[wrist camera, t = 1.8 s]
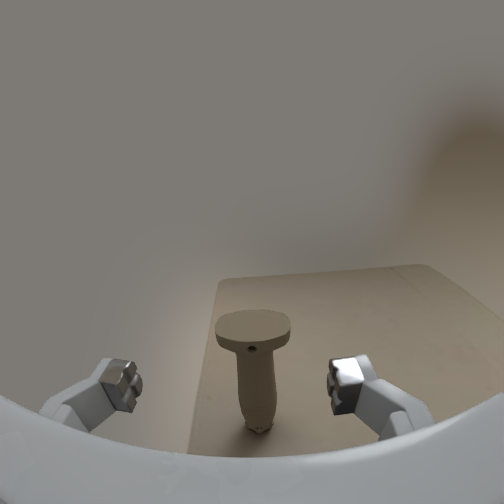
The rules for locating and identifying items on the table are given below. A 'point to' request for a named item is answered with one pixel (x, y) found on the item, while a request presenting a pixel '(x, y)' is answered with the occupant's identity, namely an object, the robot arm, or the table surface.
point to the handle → (255, 360)
